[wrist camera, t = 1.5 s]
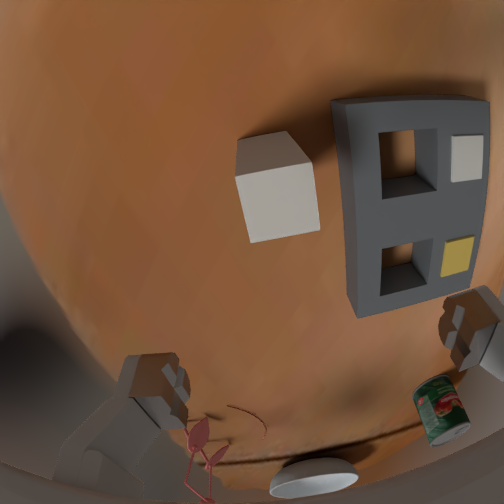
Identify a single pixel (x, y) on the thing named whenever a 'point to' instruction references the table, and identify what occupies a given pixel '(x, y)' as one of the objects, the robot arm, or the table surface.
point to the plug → (275, 187)
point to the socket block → (412, 196)
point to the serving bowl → (313, 478)
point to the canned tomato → (440, 410)
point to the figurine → (196, 443)
